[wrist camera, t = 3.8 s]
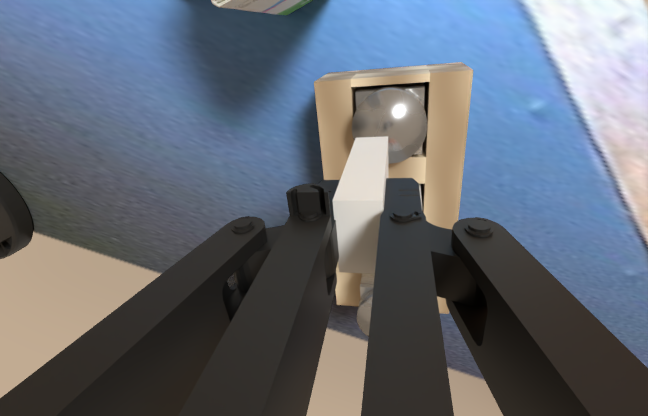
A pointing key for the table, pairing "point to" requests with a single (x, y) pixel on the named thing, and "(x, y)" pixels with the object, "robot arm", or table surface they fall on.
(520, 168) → the table surface
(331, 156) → the housing
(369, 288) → the plug
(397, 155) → the plug
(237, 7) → the ink box
